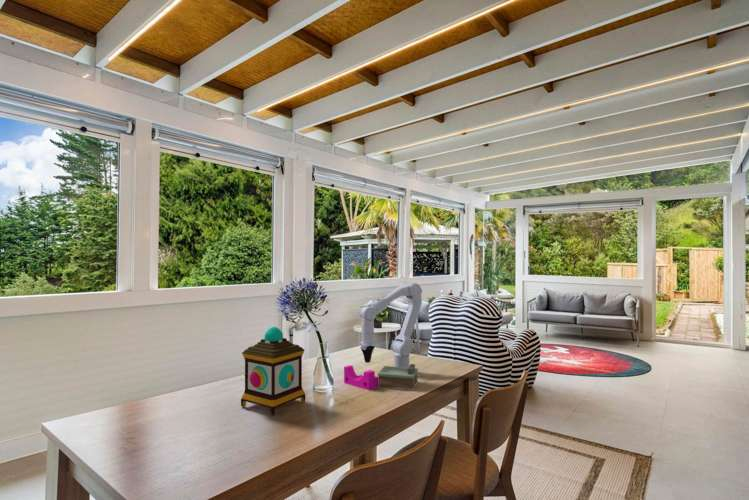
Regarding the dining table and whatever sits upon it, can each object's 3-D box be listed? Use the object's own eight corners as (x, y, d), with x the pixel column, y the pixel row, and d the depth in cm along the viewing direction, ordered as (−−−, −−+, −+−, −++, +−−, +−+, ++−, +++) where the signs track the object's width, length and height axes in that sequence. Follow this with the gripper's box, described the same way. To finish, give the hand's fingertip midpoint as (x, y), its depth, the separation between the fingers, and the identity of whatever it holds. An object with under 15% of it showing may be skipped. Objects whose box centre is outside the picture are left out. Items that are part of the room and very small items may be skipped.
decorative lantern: (272, 419, 149) (272, 333, 149) (235, 408, 160) (235, 327, 160) (310, 402, 166) (310, 325, 166) (274, 393, 176) (274, 320, 177)
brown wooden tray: (385, 379, 196) (385, 368, 196) (417, 382, 192) (417, 370, 192) (378, 387, 184) (378, 375, 184) (412, 390, 180) (412, 378, 180)
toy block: (378, 387, 185) (378, 370, 185) (368, 390, 180) (368, 373, 180) (353, 380, 195) (353, 364, 195) (344, 383, 190) (344, 366, 190)
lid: (384, 368, 196) (384, 360, 196) (418, 370, 192) (418, 363, 192) (377, 375, 184) (377, 367, 184) (413, 378, 180) (413, 370, 180)
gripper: (363, 329, 205) (363, 358, 205) (354, 335, 191) (354, 365, 191) (378, 330, 204) (377, 358, 203) (369, 336, 190) (369, 366, 189)
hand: (367, 362), depth 197 cm, fingers closed
